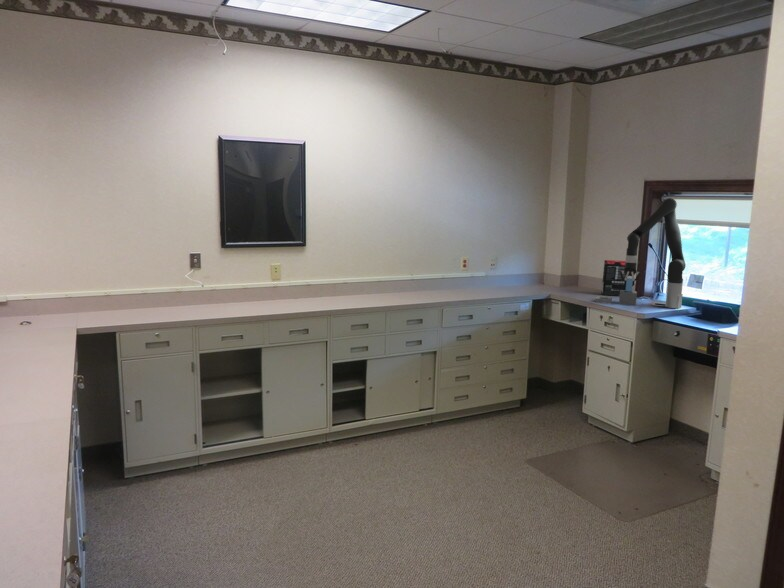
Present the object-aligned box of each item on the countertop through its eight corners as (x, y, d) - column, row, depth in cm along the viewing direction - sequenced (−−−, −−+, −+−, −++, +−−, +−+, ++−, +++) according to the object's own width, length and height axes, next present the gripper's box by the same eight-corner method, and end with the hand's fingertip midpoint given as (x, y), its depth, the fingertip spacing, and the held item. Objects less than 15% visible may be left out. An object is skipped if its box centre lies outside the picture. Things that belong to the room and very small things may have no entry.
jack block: (635, 303, 409) (636, 291, 408) (635, 305, 399) (636, 293, 397) (595, 299, 419) (596, 288, 417) (595, 302, 409) (596, 290, 407)
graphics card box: (623, 295, 444) (626, 260, 440) (626, 296, 437) (629, 261, 433) (600, 294, 446) (603, 259, 441) (603, 295, 439) (606, 260, 435)
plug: (631, 290, 405) (632, 278, 404) (631, 291, 402) (632, 279, 400) (625, 290, 407) (626, 278, 405) (625, 291, 403) (626, 278, 402)
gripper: (641, 261, 402) (639, 286, 405) (620, 260, 407) (618, 284, 410) (642, 262, 395) (640, 287, 398) (620, 261, 400) (618, 285, 403)
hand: (629, 285), depth 404 cm, fingers closed on plug, 4 cm apart
